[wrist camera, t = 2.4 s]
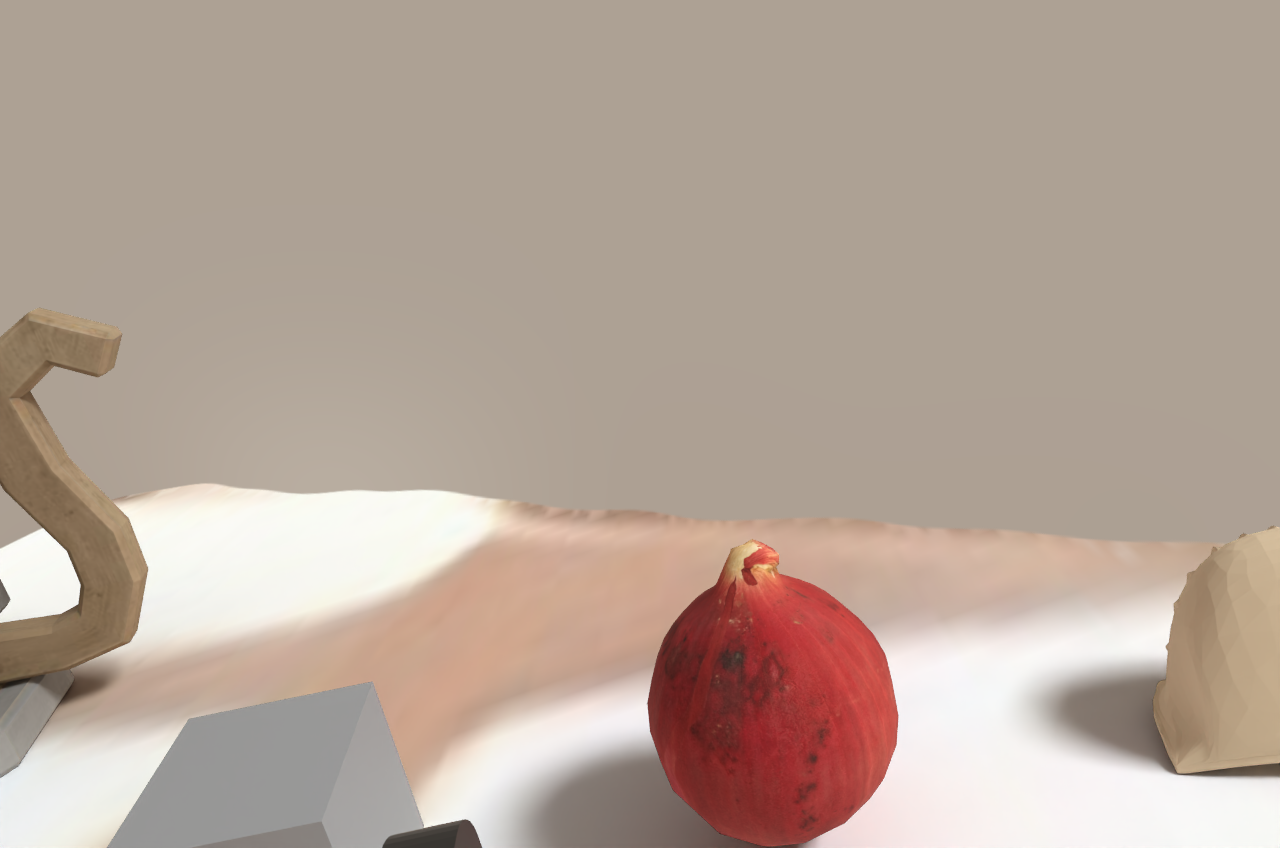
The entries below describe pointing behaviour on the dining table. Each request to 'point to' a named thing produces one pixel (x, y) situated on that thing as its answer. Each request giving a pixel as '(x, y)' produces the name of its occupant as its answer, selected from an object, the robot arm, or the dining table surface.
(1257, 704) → the decorative ornament
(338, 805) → the grey block
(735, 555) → the red squash
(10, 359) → the tankard
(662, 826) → the dining table surface
